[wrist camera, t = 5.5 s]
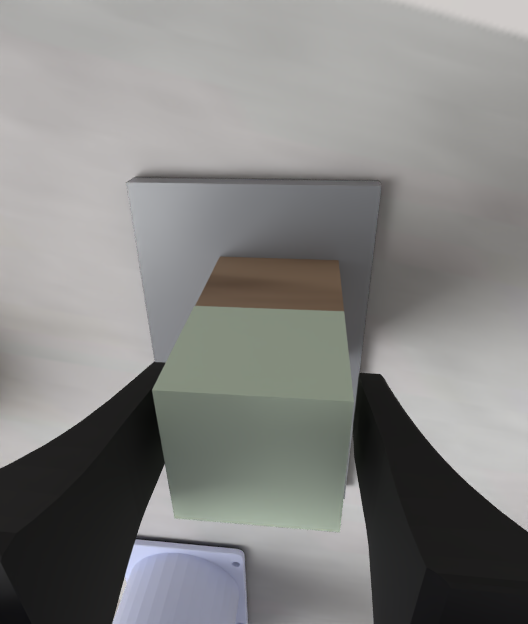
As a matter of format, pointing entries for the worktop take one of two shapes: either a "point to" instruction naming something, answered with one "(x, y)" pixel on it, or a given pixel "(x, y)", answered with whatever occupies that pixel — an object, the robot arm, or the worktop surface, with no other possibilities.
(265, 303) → the walnut block
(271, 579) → the worktop surface
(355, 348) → the baseplate
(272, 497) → the green block
